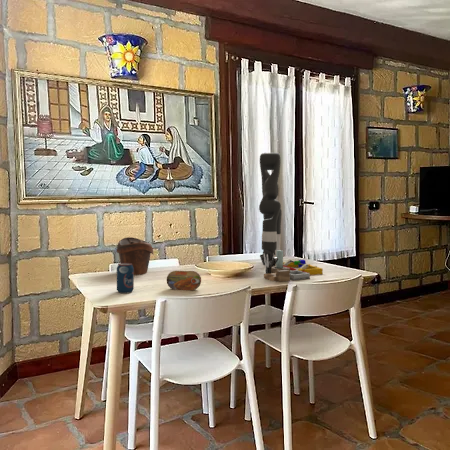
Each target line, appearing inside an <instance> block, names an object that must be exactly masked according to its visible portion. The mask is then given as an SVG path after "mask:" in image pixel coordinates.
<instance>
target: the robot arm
mask: <svg viewBox="0 0 450 450" xmlns="http://www.w3.org/2000/svg"><path fill="white" fill-rule="evenodd" d="M259 167H260V174H261V189H262V190H261V192H262V193H261V195H262V198H261V200H260V202H259V205H258V206H259V207H258V210H259V212H260V214H262V215H263V220H262V233H261V250H262V254H260V255H259V257H260V260H261V263H262V265H263V266H265V274H269V273H271V269H272V267H276V262H277V261H278V257H276V251H277V250H281V239H282V238H281V233H282V232H281V230H282V229H281V228H282V227H281V225H282V206H281V205H282V204H281V202H280V201H279V200H276V199H277V198H278V196H279V184H278V183H279V177H280V170H281V154H280V153H279V152H264V153H263V152H262V153H261V154H260V155H259ZM269 171H272V173H271V174H270V172H269Z"/></svg>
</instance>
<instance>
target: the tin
mask: <svg viewBox="0 0 450 450" xmlns="http://www.w3.org/2000/svg"><path fill="white" fill-rule="evenodd" d="M201 283H202V277H201V275H200V273H198V271H195V270H173V271H170V272H169V273H168V274H167V276H166V284H167V286H168V288H170V289H171V290H174V291H192V292H193V291H195V290H197V289H198V288H199V287H200V286H201Z"/></svg>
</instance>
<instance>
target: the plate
mask: <svg viewBox="0 0 450 450" xmlns="http://www.w3.org/2000/svg"><path fill="white" fill-rule="evenodd" d="M263 279H265V280H269V281H272V282H277V281H276V273H269V274H266V273H264V274H263Z"/></svg>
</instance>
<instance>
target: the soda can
mask: <svg viewBox="0 0 450 450" xmlns="http://www.w3.org/2000/svg"><path fill="white" fill-rule="evenodd" d="M134 276H135V275H134V268H133V266H132V263H121V262H119V263H118V265H117V266H116V290H117V292H118V293H119V294H130V293H133V291H134V288H135V287H134V285H135V282H134V279H135V277H134Z"/></svg>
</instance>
